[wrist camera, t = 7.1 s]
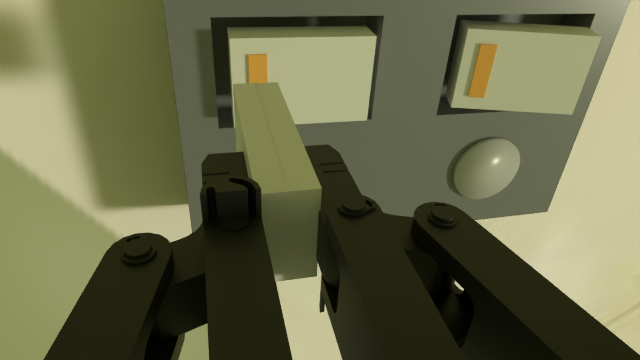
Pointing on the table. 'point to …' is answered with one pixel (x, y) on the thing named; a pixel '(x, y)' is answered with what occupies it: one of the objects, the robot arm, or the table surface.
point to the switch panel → (396, 100)
